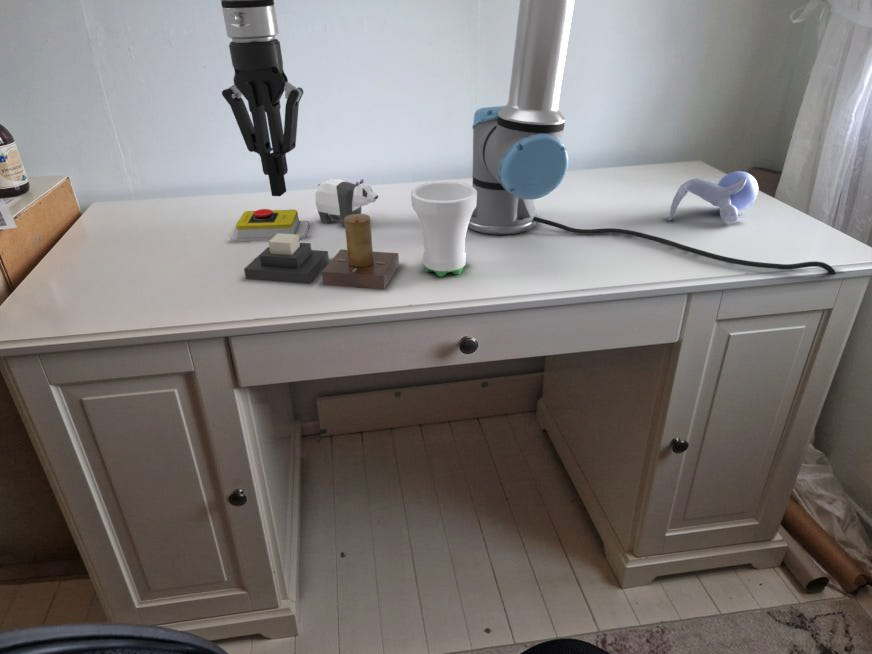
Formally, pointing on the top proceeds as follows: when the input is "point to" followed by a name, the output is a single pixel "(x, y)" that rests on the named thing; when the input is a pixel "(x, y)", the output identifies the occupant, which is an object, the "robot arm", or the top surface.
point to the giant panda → (342, 199)
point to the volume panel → (361, 271)
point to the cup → (444, 223)
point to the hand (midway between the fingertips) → (279, 193)
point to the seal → (721, 193)
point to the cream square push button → (284, 244)
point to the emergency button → (268, 225)
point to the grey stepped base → (288, 265)
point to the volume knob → (359, 240)
